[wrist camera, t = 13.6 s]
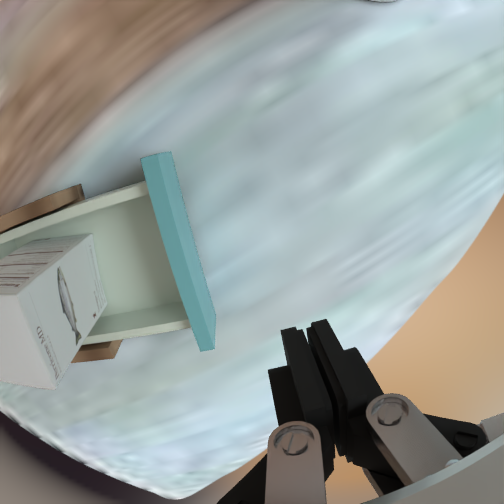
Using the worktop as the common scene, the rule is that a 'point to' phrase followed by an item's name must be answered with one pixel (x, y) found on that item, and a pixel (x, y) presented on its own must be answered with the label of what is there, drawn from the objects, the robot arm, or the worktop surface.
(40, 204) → the organizer
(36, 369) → the supplement box
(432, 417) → the robot arm
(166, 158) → the tray
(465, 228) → the worktop surface
